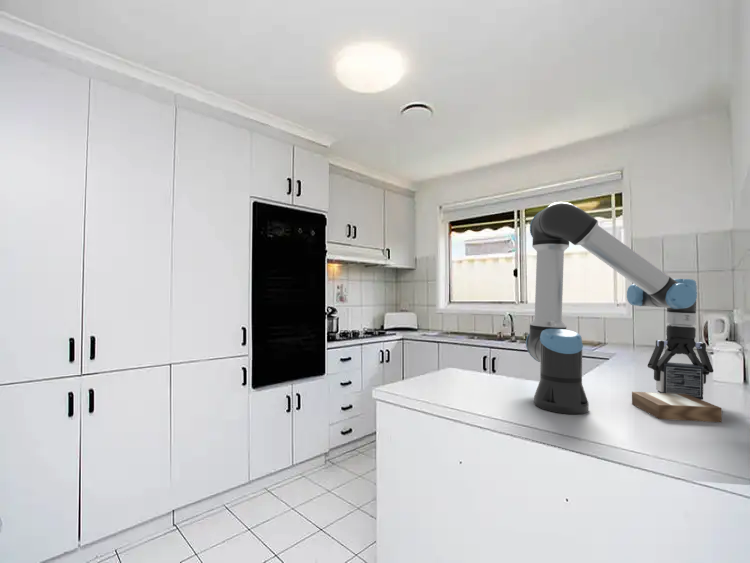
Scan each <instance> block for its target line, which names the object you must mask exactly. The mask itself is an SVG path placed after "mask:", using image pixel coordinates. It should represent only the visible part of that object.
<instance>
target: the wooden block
mask: <svg viewBox="0 0 750 563" xmlns="http://www.w3.org/2000/svg"><path fill="white" fill-rule="evenodd" d="M631 405H633V406H635V407H636V408H639V409H640V410H642V411H644V412H645V411H646V413H648V414H649V413H650V414H649V415H651V416H652V417H654V416H655V417H654V418H656V419H658V420H669V421H670V420H671V421H673V420H674V421H688V422H689V421H691V422H692V421H693V422H694V421H695V422H709V423H710V422H711V423H722V417H723V416H722V415H723V414H722V407H720V406H718V405H715V404H713V403H710V402H708V401H705V400H704V399H703V400H700V399H698V398H695V397H693V396H690V395H688V394H673V393H659V392H650V391H649V392H646V391H631Z"/></svg>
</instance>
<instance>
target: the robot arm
mask: <svg viewBox="0 0 750 563" xmlns="http://www.w3.org/2000/svg"><path fill="white" fill-rule="evenodd" d="M529 233H530V234H529V235H530V236H531V238H532V248H533V249H534V250H535V251H536V267H535V297H534V299H535V300H534V301H535V302H534V319H533V320H532V321H531V322H530V323H529V333H528V335H527V336H526V340H525V346H526V350H527V353H528V354H529V355H530V357H531V358H533V360H535V361H536V362H539V363H540V365H539V367H540V368H539V371H540V372H539V373H540V376H539V377H540V378H539V382H538V385H537V388H536V390H535V393H534V395H533V396H534V398H533V402H534V403H533V405H535V406H536V407H537V408H540V409H543V410H545V411H550V412H553V413H557V414H558V413H559V414H566V415H567V414H568V415H582V414H586V413H588V412H589V410H590V408H589V400H588V397H587V395H586V392H585V389H584V386H583V385H584V384H583V348H584V344H583V339H582V335H581V334H579V332H576V331H573V330H568V329H567V325H566V324H565V323H564V322H563V318H562V317H563V293H564V292H563V291H564V288H563V287H564V263H565V262H564V261H565V260H564V259H565V258H564V257H565V251H566V250H567V249H568V248H569V247H570V243H571V245H573V246H581V247H583V249H584V250H587V251H588V252H589V253H591V254H592V255H593V256H594V257H597V258H598V259H599V260H601V262H603V263H605V264H606V265H607V266H609V267H610V268H611V269H613V270H614V271H615V272H617V273H618V274H619V275H621V276H622V277H624V278H625V279H627V280H628V281H629V282H631V283H632V284H630V285H629V286H628V287H627V290H626V298H627V302H628V303H629V305H630V306H634V307H635V306H637V307H651V308H653V307H654V308H666V324H667V326H666V331H665V332H666V334H665V335H666V339H665V340H661V339H656V340H655V347H654V349H653V352H652V354H651V356H650V358H649V361H648V364H647V367H648V368H649V369H652V371H653V379H654V381H656V382H655V383H656V384H655V390H656V391H657V392H658V391H660V392H664V372H662V371H661V370H662V369H663V368H664V364H667V363H668V362H670V360H671V359H672V358H673V357H674V356H676V355H685V356H687V357H688V359H689V361H690V362H691V364H694V365H698V366H701V367H703V387H704V385H705V384H706V383H707V375H709V374H710V373H711V374H712V373H714V368H713V365H712V362H711V360H710V358H709V355H708V352H707V343H705V342H701V341H697V342H696V339H695V338H697V336H696V332H697V330H696V329H697V328H696V327H695V326H696V325H697V323H696V321H697V299H698V290H697V289H698V288H697V287H698V286H697V281H696V280H694V279H691V278H672V277H671V276H669V275H668V274H666V273H665V272H663V271H662V270H661V269H660V268H658V267H657V266H655V265H654V264H652V263H651V262H650V261H648V260H647V259H645V258H644V257H643V256H641V255H640V254H638V253H637V252H636V251H634V250H633V249H632V248H630V247H629V246H628V245H626V244H625V243H624V242H622V241H620V240H619V239H617V237H616V236H613V235H612V234H611V233H609V232H608V231H606V230H605V229H604V228H602V227H601V226H600V225H599V220H598V219H597V218H595V217H593V216H592V215H590V214H589V213H588V212H586V211H585V210H583V209H581V208H580V207H578V206H576V205H575V204H572V203H570V202H564V201H558V202H553V203H551V204H549V205H548V206H547V207H545V208H544V209H542V210H540V211H539V212H537V213H536V214H535V215H534V216H533V218H532V219H531V222H530V224H529ZM666 346H667V348H666V349H665V347H666ZM694 348H695V349H696V352H697V353H696V352H695V351H694ZM664 349H665V350H664ZM663 351H664V352H663ZM662 354H663V355H662ZM697 354H698V356H697Z"/></svg>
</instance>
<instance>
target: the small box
mask: <svg viewBox="0 0 750 563" xmlns="http://www.w3.org/2000/svg"><path fill="white" fill-rule="evenodd" d="M661 371H662V372H664V392H660V391H658V390H657V393H673V394H688V395H690V396H693V397H695V398H698V399H700V400H703V401H704V386H703V367H701V366H698V365H694V364H693V363H683V362H670V361H668V363H667V364H664V368H663V369H662V370H661Z"/></svg>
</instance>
